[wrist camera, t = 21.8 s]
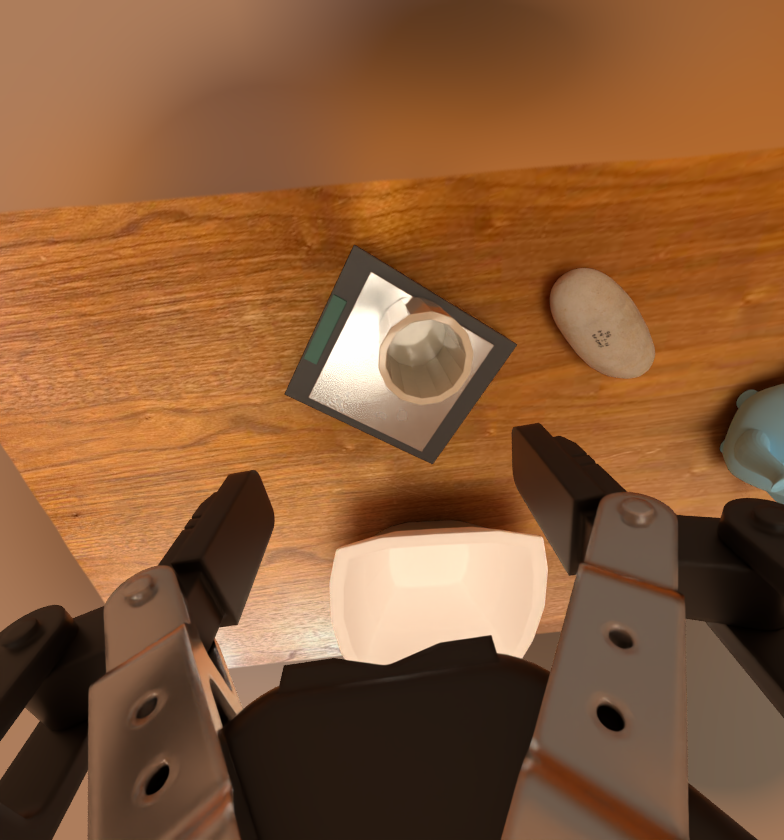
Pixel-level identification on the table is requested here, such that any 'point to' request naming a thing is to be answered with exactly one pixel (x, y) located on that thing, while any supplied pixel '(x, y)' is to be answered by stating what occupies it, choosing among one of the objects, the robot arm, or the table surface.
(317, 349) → the scale
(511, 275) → the table surface
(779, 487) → the teapot
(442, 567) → the bowl
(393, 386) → the cup
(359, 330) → the scale pan
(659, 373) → the table surface
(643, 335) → the stone
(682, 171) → the table surface
